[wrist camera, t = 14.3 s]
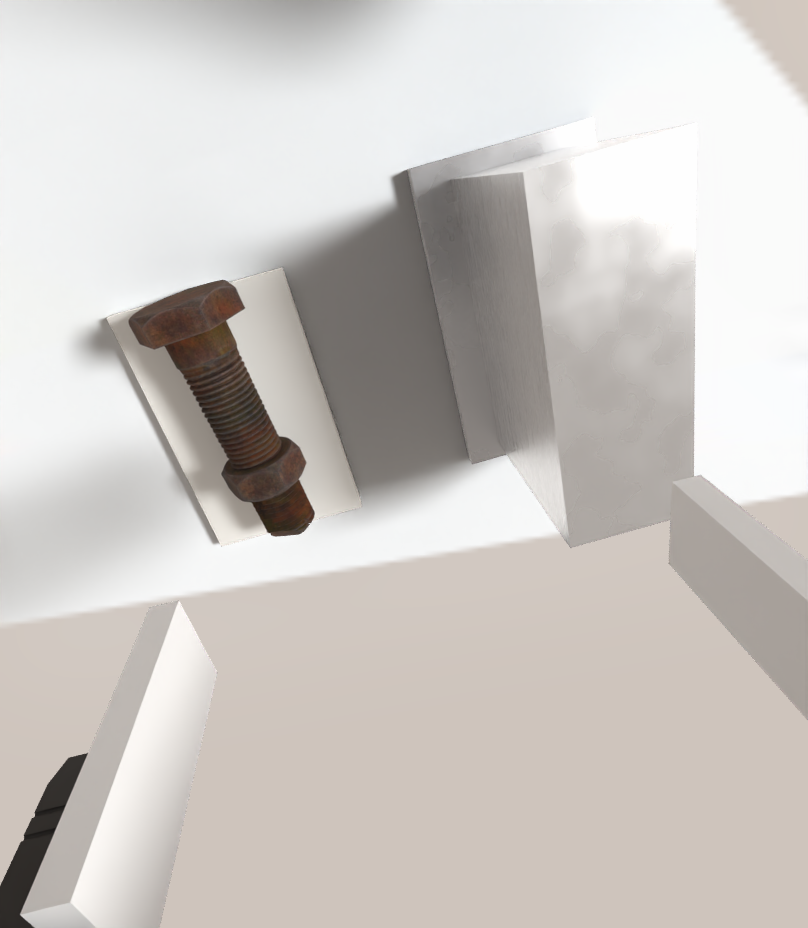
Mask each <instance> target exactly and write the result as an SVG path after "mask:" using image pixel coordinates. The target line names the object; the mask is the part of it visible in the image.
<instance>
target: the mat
mask: <svg viewBox="0 0 808 928" xmlns="http://www.w3.org/2000/svg"><path fill="white" fill-rule="evenodd" d="M229 283H231V284H232V285H233V286H234V287H236V289H237V291H238V294H239V296H240V298H241V300H242V302H243V305H244V307H245V309H244V310H242V311H241V312H239V313H237V314H236V315H234V316H233V317H231V318H229V319H228V320H226V321H227V323H228V326H229V328H230V330H231V332H232V334H233V336H234V338H235V340H236V343H237V349H238V351H239V355H240V356H241V357H242V361H243V362H244V363H245V365H244V366H245V367H246V368H247V372H248V373H249V374H250V377H251V379H252V380H253V381H252V383H254V385H255V388H256V389H257V391H258V394H259V395H260V399H261V400H262V404H264V406H265V409H266V410H267V414H268V415H269V417H270V419H271V421H272V424H273V425H274V428H275V429H276V431H277V434H278V435H279V437H280V436H282V437H287V438H289V439H291V440H292V441H293V442H295V443H296V444H297V445H298V446H299V447H300V449H301V451H302V453H303V456H304V458H305V460H306V462H307V463H306V466H305V468H304V471H303V473H302V475H301V477H300V478H299V480H300V483H301V485H302V487H303V489H304V491H305V493H306V495H307V498H308V499H309V502H310V504H311V505H312V507H313V510H314V511H315V515H314V519H313V520H312V521H314V520H317V519H321V518H325V517H328V516H332V515H335V514H339V513H342V512H346V511H349V510H353V509H357V508H360V507H362V503H361V499H360V496H359V493H358V490H357V487H356V484H355V481H354V478H353V475H352V472H351V469H350V466H349V463H348V460H347V457H346V454H345V451H344V448H343V445H342V442H341V439H340V436H339V433H338V430H337V427H336V424H335V421H334V418H333V416H332V413H331V410H330V407H329V404H328V401H327V398H326V395H325V392H324V389H323V386H322V383H321V380H320V377H319V374H318V371H317V368H316V365H315V362H314V359H313V356H312V353H311V350H310V347H309V344H308V341H307V338H306V335H305V332H304V329H303V326H302V323H301V320H300V317H299V314H298V311H297V308H296V305H295V302H294V299H293V297H292V294H291V291H290V288H289V285H288V282H287V279H286V276H285V273H284V270H283V267H281V268H277V269H274V270H270V271H267V272H263V273H259V274H256V275H252V276H249V277H245V278H242V279H238V280H235V281H231V282H229ZM149 305H151V304H149ZM146 306H148V305H146ZM144 307H145V306H142V307H139V308H135V309H131V310H128V311H124V312H121V313H117V314H114V315H111V316H109V317H107V318H106V319H107V321H108V323H109V325H110V327H111V329H112V331H113V333H114V335H115V337H116V339H117V341H118V343H119V345H120V347H121V349H122V351H123V353H124V355H125V357H126V359H127V360H128V362H129V364H130V366H131V368H132V370H133V372H134V374H135V376H136V378H137V380H138V382H139V384H140V386H141V388H142V390H143V392H144V394H145V396H146V398H147V400H148V402H149V404H150V406H151V408H152V410H153V412H154V414H155V416H156V418H157V420H158V422H159V424H160V426H161V428H162V430H163V432H164V434H165V436H166V438H167V440H168V442H169V444H170V446H171V448H172V450H173V452H174V454H175V456H176V458H177V460H178V462H179V464H180V466H181V468H182V470H183V471H184V473H185V475H186V477H187V479H188V481H189V483H190V485H191V487H192V489H193V491H194V493H195V495H196V497H197V499H198V501H199V503H200V505H201V507H202V509H203V511H204V513H205V515H206V517H207V519H208V521H209V523H210V525H211V527H212V529H213V531H214V533H215V535H216V537H217V539H218V541H219V543H220V545H221V547H222V546H225V545H229V544H232V543H236V542H239V541H243V540H247V539H250V538H254V537H257V536H261V535H264V534H268V533H267V530H266V529H265V526H264V525H263V522H262V521H261V519H260V517H259V515H258V513H257V512H256V509H255V508H254V507H253V504H252V503H251V502H243V501H241V500H240V499H238V498H237V497H236V496H235V495H234V494H233V493H232V491H231V490H230V489H229V487H228V486H227V484H226V482H225V480H224V478H223V477H222V475H221V473H222V471H223V468H224V466H225V464H226V462H227V461H228V460H229V458H227V456H226V453H224V448H222V447H221V443H219V442H218V438H216V437H215V435H216V434H215V433H214V432H213V428H211V427H210V424H209V423H208V422H207V419H208V418H205V417H204V415H205V413H202V411H201V410H202V408H201V407H199V402H197V401H196V397H195V396H194V395H193V394H192V393H193V391H191V390H190V386H191V385H187V383H186V382H187V380H186V379H184V377H183V376H184V375H183V374H182V373H181V372H180V370H178V369H177V368H176V366H175V364H174V363H173V361H172V359H171V357H170V355H169V354H168V352H167V350H166V348H165V346H163V347H161V348H158V349H155V350H154V349H151V348H148V347H145V346H143V345H140V344H139V342H138V340H137V339H136V337H135V335H134V333H133V331H132V330H131V328H130V326H129V322H128V320H129V318H130V317H131V316H132V315H133V314H134V313H136V312H138V311H139V310H141V309H142V308H144Z"/></svg>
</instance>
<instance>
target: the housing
mask: <svg viewBox="0 0 808 928" xmlns="http://www.w3.org/2000/svg"><path fill="white" fill-rule="evenodd" d="M407 173H408V177H409V182H410V186H411V191H412V196H413V200H414V205H415V210H416V214H417V219H418V224H419V228H420V233H421V238H422V242H423V247H424V252H425V256H426V261H427V265H428V270H429V275H430V279H431V284H432V289H433V293H434V298H435V303H436V307H437V312H438V317H439V321H440V326H441V331H442V335H443V340H444V344H445V349H446V354H447V358H448V363H449V368H450V372H451V377H452V382H453V386H454V391H455V396H456V400H457V405H458V409H459V414H460V419H461V423H462V428H463V433H464V437H465V442H466V447H467V451H468V456H469V459H470V461H471V463H472V464H475V463H478V462H482V461H485V460H489V459H492V458H496V457H499V456H503V455H507V456H508V458H509V459H510V461H511V462H512V464H513V465H514V466H515V468H516V469H517V471H518V472H519V474H520V475H521V477H522V478H523V480H524V481H525V483H526V484H527V485H528V487H529V488H530V490H531V491H532V493H533V494H534V496H535V497H536V499H537V500H538V502H539V503H540V504H541V506H542V507H543V509H544V510H545V512H546V513H547V515H548V516H549V518H550V519H551V521H552V522H553V523H554V525H555V526H556V528H557V529H558V531H559V532H560V534H561V535H562V537H563V538H564V540H565V541H566V542H567V544H568V545H569V547H570V548H572V547H576V546H579V545H583V544H586V543H590V542H593V541H597V540H601V539H604V538H608V537H611V536H615V535H618V534H622V533H625V532H629V531H633V530H636V529H640V528H643V527H647V526H650V525H654V524H657V523H661V522H664V521H668V520H670V519H671V496H672V482H673V481H677V480H682V479H686V478H690V477H694V370H695V236H696V123H694V124H689V125H683V126H678V127H673V128H667V129H662V130H657V131H651V132H646V133H641V134H636V135H630V136H625V137H620V138H614V139H609V140H604V141H598V142H596V135H595V121H594V117H592V118H588V119H585V120H581V121H578V122H574V123H571V124H567V125H563V126H560V127H556V128H553V129H549V130H546V131H542V132H539V133H535V134H531V135H528V136H524V137H521V138H517V139H514V140H510V141H507V142H503V143H499V144H496V145H492V146H489V147H485V148H482V149H478V150H475V151H471V152H467V153H464V154H460V155H457V156H453V157H450V158H446V159H443V160H439V161H435V162H432V163H428V164H425V165H421V166H418V167H414V168H411V169H407Z"/></svg>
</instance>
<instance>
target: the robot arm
mask: <svg viewBox="0 0 808 928" xmlns="http://www.w3.org/2000/svg"><path fill="white" fill-rule="evenodd" d="M669 564H670V566H671V567H672V568H673V569H674V570H675V571H676V572H677V573H678V575H679V576H680V577H681V578H682V579H683V580H684V581H685V583H686V584H687V585H688V586H689V587H690V588H691V589H692V590H693V591H694V593H695V594H696V595H697V596H698V597H699V598H700V599H701V600H702V602H703V603H704V604H705V605H706V606H707V607H708V608H709V609H710V611H711V612H712V613H713V614H714V615H715V616H716V617H717V619H718V620H719V621H720V622H721V623H722V624H723V625H724V626H725V628H726V629H727V630H728V631H729V632H730V633H731V634H732V635H733V637H734V638H735V639H736V640H737V641H738V642H739V643H740V644H741V646H742V647H743V648H744V649H745V650H746V651H747V652H748V653H749V655H751V657H752V658H753V659H754V660H755V661H756V663H757V664H758V665H759V666H760V667H761V668H762V669H763V670H764V672H765V673H766V674H767V675H768V676H769V677H770V678H771V679H772V681H773V682H774V683H775V684H776V685H777V686H778V687H779V688H780V690H781V691H782V692H783V693H784V694H785V695H786V696H787V697H788V699H789V700H790V701H791V702H792V703H793V704H794V705H795V706H796V708H797V709H798V710H799V711H800V712H801V713H802V714H803V715H804V716H805V718H806V719H807V720H808V560H807V559H806V558H805V557H804V556H802V555H801V554H800V553H798V552H797V551H796V550H795V549H793V548H792V547H791V546H789V545H788V544H787V543H786V542H785V541H783V540H782V539H781V538H780V537H778V536H777V535H776V534H774V533H773V532H772V531H771V530H769V529H768V528H767V527H765V526H764V525H763V524H762V523H761V522H759V521H758V520H757V519H755V518H754V517H753V516H752V515H750V514H749V513H748V512H747V511H745V510H744V509H743V508H742V507H740V506H739V505H738V504H737V503H735V502H734V501H733V500H732V499H730V498H729V497H728V496H726V495H725V494H724V493H723V492H721V491H720V490H719V489H718V488H716V487H715V486H714V485H713V484H711V483H710V482H709V481H708V480H706V479H705V478H704V477H702V476H701V475H698V476H694V477H690V478H686V479H682V480H677V481H673V482H672V496H671V519H670V544H669ZM216 677H217V671H216V669H215V667H214V665H213V664H212V662H211V660H210V658H209V656H208V654H207V652H206V651H205V648H204V647H203V645H202V643H201V641H200V639H199V637H198V635H197V633H196V632H195V630H194V628H193V626H192V624H191V622H190V620H189V618H188V617H187V615H186V613H185V611H184V609H183V607H182V605H181V604H180V602H179V600H178V601H174V602H170V603H166V604H161V605H157V606H153V607H150V608H149V610H148V612H147V615H146V617H145V619H144V622H143V624H142V627H141V629H140V631H139V634H138V636H137V639H136V641H135V643H134V646H133V648H132V650H131V653H130V655H129V657H128V660H127V662H126V665H125V667H124V669H123V672H122V674H121V676H120V679H119V681H118V684H117V686H116V688H115V691H114V693H113V695H112V698H111V700H110V703H109V705H108V707H107V710H106V712H105V714H104V717H103V719H102V721H101V724H100V726H99V729H98V731H97V733H96V736H95V738H94V740H93V743H92V745H91V747H90V750H89V752H88V753H87V754H83V755H78V756H74V757H70V758H68V759H67V761H66V762H65V763H64V764H63V766H62V767H61V768H60V770H59V771H58V772H57V773H56V775H55V776H54V777H53V778H52V780H51V781H50V782H49V784H48V785H47V787H46V789H45V791H44V794H43V796H42V798H41V800H40V802H39V804H38V806H37V809H36V811H35V817H34V818H32V819H31V821H30V823H29V826H28V828H27V830H26V832H25V834H24V841H22V842H21V843H20V845H19V847H18V850H17V851H16V853H15V856H14V858H13V860H12V862H11V864H10V866H9V869H8V870H7V873H6V875H5V877H4V879H3V881H2V883H1V886H0V928H159V927H160V923H161V919H162V914H163V910H164V905H165V901H166V896H167V892H168V888H169V884H170V879H171V875H172V870H173V866H174V862H175V857H176V853H177V848H178V844H179V839H180V835H181V831H182V826H183V822H184V818H185V813H186V809H187V804H188V800H189V796H190V791H191V787H192V783H193V778H194V773H195V769H196V765H197V760H198V756H199V752H200V747H201V743H202V739H203V734H204V730H205V726H206V721H207V717H208V712H209V708H210V703H211V699H212V695H213V690H214V686H215V682H216Z"/></svg>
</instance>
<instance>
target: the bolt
mask: <svg viewBox="0 0 808 928" xmlns="http://www.w3.org/2000/svg"><path fill="white" fill-rule="evenodd" d="M244 309H245V307H244V305H243V302H242V300H241V298H240V296H239V294H238V291H237V289H236V287H234V286H233V285H232V284H231V283H229V282H227V281H225V280H220V281H215V282H211V283H207V284H204V285H200V286H197V287H193V288H189V289H187V290H184V291H182V292H179V293H177V294H174V295H172V296H169V297H167V298H164V299H162V300H160V301H157V302H155V303H153V304H151V305H148V306H145V307H144V308H142V309H141V310H139V311H138V312H136V313H134V314H133V315H132V316H131V317H130V318H129V320H128V322H129V326H130V328H131V330H132V331H133V333H134V335H135V337H136V339H137V340H138V342H139V344H140V345H143V346H145V347H148V348H151V349H154V350H155V349H158V348H161V347H163V346H165V348H166V350H167V352H168V354H169V355H170V357H171V359H172V361H173V363H174V364H175V366H176V368H177V369H178V370H180V372H181V373H182V374H183V375H184V376H183V377H184V379H186V380H187V382H186V383H187V385H191V386H190V390H191V391H193V393H192V394H193V395H194V396H195V397H196V401H197V402H199V407H201V408H202V410H201V411H202V413H205V415H204V417H205V418H208V419H207V422H208V423H209V424H210V427H211V428H213V432H214V433H215V434H216V435H215V437H216V438H218V442H219V443H221V447H222V448H224V453H226V456H227V458H229V460H228V461H227V462H226V464H225V466H224V468H223V471H222V473H221V475H222V477H223V478H224V480H225V482H226V484H227V486H228V487H229V489H230V490H231V491H232V493H233V494H234V495H235V496H236V497H237V498H238V499H240V500H241V501H243V502H251V503H252V504H253V507H254V508H255V509H256V512H257V513H258V515H259V517H260V519H261V521H262V522H263V525H264V526H265V529H266V530H267V533H271V535H272V536H275V537H276V536H288V535H298V534H301V533H302V532H304V531H305V530H306V528H307V527H308V526H309V525H310V524H308V523H311V522H312V520H313V519H314V515H315V511H314V510H313V507H312V505H311V504H310V502H309V499H308V498H307V495H306V493H305V491H304V489H303V487H302V485H301V483H300V480H299V478H300V477H301V475H302V473H303V471H304V468H305V466H306V463H307V462H306V460H305V458H304V456H303V453H302V451H301V449H300V447H299V446H298V445H297V444H296V443H295V442H293V441H292V440H291V439H289V438H287V437H282V436H280V437H279V435H278V434H277V431H276V429H275V428H274V425H273V424H272V421H271V419H270V417H269V415H268V414H267V410H266V409H265V406H264V404H262V400H261V399H260V395H259V394H258V391H257V389H256V388H255V385H254V383H252V381H253V380H252V379H251V377H250V374H249V373H248V372H247V368H246V367H245V366H244V365H245V363H244V362H243V361H242V357H241V356H240V355H239V351H238V349H237V343H236V340H235V338H234V336H233V334H232V332H231V330H230V328H229V326H228V323H227V321H226V320H228V319H229V318H231V317H233V316H234V315H236V314H237V313H239V312H241V311H242V310H244Z"/></svg>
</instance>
